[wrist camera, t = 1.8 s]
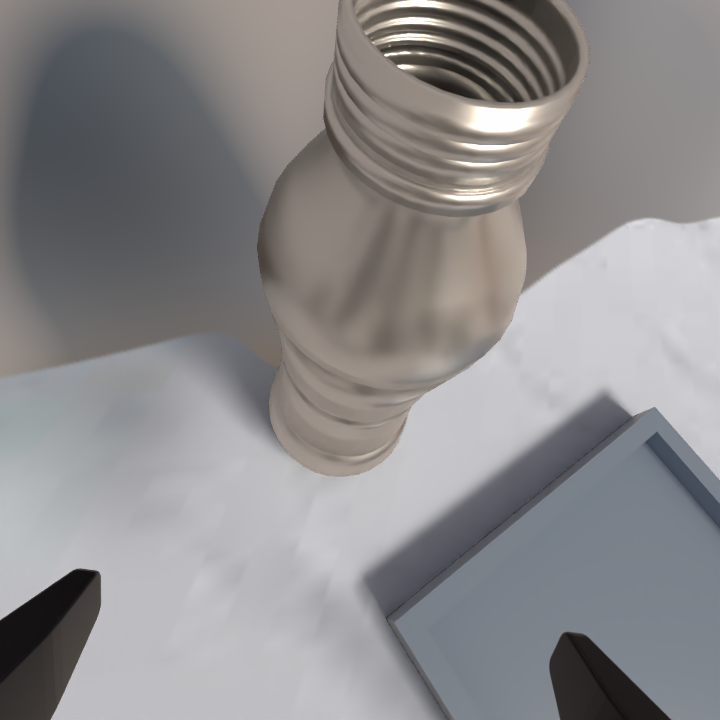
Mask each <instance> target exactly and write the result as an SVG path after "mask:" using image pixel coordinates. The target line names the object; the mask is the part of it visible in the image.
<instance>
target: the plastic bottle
mask: <svg viewBox="0 0 720 720" xmlns="http://www.w3.org/2000/svg"><path fill="white" fill-rule="evenodd" d="M589 64H590V47H589V44H588V40H587V37H586V33H585V31H584V29H583V27H582V25H581V23H580V22H579V20H578V18H577V16H576V15H575V13H574V12H573V11H572V10H571V9H570V7H569V6H568V5H567V4H566V2H565V1H564V0H339V5H338V18H337V29H336V41H335V52H334V61H333V63H332V64H331V66H330V69H329V72H328V75H327V78H326V85H325V99H324V116H323V118H324V123H325V127H326V128H325V129H324V130H323V131H322V132H320V133H319V134H318V135H317V136H316V137H315V138H314V139H313V140H312V141H310V142H309V143H308V144H307V146H305V148H303V149H302V150H301V151H300V152H299V154H298V155H297V156H296V157H295V158H294V159H293V160H292V161H291V162H290V163H289V164H288V165H287V166H286V168H285V169H284V171H283V172H282V174H281V175H280V176H279V178H278V179H277V181H276V183H275V186H274V188H273V191H272V193H271V196H270V198H269V201H268V203H267V206H266V209H265V211H264V214H263V217H262V220H261V222H260V225H259V233H258V243H257V252H258V260H259V267H260V273H261V278H262V283H263V289H264V292H265V295H266V298H267V301H268V303H269V306H270V309H271V312H272V315H273V318H274V321H275V324H276V327H277V330H278V333H279V336H280V340H281V348H282V359H281V364H280V366H279V368H278V369H277V371H276V374H275V377H274V380H273V384H272V387H271V390H270V396H269V413H270V421H271V424H272V427H273V430H274V433H275V435H276V436H277V438H278V440H279V442H280V443H281V445H282V446H283V448H284V449H285V450H286V451H287V452H288V453H289V454H290V456H291V457H292V458H294V459H295V460H296V461H297V462H299V463H300V464H301V465H303V466H304V467H306V468H308V469H310V470H312V471H314V472H316V473H320V474H323V475H327V476H343V477H344V476H351V475H358V474H360V473H363V472H366V471H369V470H371V469H373V468H374V467H376V466H377V465H379V464H380V463H382V462H383V461H384V460H385V459H386V458H387V457H388V456H389V455H390V454H391V453H392V451H393V450H394V448H395V447H396V445H397V444H398V442H399V440H400V437H401V435H402V432H403V429H404V427H405V424H406V421H407V416H408V413H409V411H410V409H411V407H412V405H414V404H415V403H416V402H417V401H418V400H419V399H420V398H421V397H422V396H423V395H424V394H425V393H427V392H429V391H431V390H432V389H434V388H436V387H437V386H439V385H441V384H442V383H444V382H446V381H447V380H450V379H451V378H453V377H455V376H456V375H458V374H460V373H461V372H463V371H465V370H466V369H468V368H469V367H470V366H472V365H473V364H474V363H475V362H476V361H478V360H479V359H480V358H482V357H483V356H484V355H485V354H486V353H487V352H488V351H489V350H490V349H491V348H492V347H493V346H494V345H495V344H496V343H497V342H498V341H499V340H500V339H501V337H502V336H503V334H504V332H505V331H506V329H507V328H508V326H509V324H510V323H511V321H512V318H513V315H514V312H515V308H516V305H517V302H518V299H519V296H520V292H521V289H522V286H523V283H524V279H525V275H526V259H527V253H526V246H525V239H524V231H523V224H522V218H521V212H520V207H519V202H518V198H519V197H520V196H522V195H523V194H524V193H525V192H526V190H527V189H528V187H529V186H530V184H531V183H532V181H533V180H534V178H535V177H536V175H537V173H538V172H539V170H540V169H541V167H542V165H543V164H544V162H545V160H546V157H547V154H548V151H549V147H550V140H551V138H552V136H553V135H554V133H555V132H556V130H557V128H558V127H559V125H560V123H561V122H562V120H563V118H564V117H565V115H566V113H567V112H568V110H569V108H570V107H571V105H572V103H573V101H574V100H575V99H576V97H577V95H578V94H579V92H580V89H581V86H582V83H583V80H584V78H585V77H586V74H587V70H588V67H589Z"/></svg>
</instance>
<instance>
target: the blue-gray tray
mask: <svg viewBox="0 0 720 720" xmlns="http://www.w3.org/2000/svg"><path fill="white" fill-rule="evenodd" d="M386 619H387V621H388V623H389V624H390V626H391V627H392V629H393V631H394V632H395V634H396V636H397V637H398V639H399V640H400V642H401V644H402V645H403V647H404V649H405V650H406V652H407V654H408V655H409V657H410V658H411V660H412V662H413V663H414V665H415V667H416V668H417V670H418V671H419V673H420V675H421V676H422V678H423V680H424V681H425V683H426V684H427V686H428V688H429V689H430V691H431V693H432V694H433V696H434V698H435V699H436V701H437V702H438V704H439V706H440V707H441V709H442V711H443V712H444V714H445V715H446V717H447V719H448V720H560V717H559V713H558V708H557V704H556V699H555V695H554V690H553V686H552V681H551V677H550V672H549V662H550V658H551V655H552V653H553V651H554V649H555V647H556V645H557V643H558V640H559V638H560V636H561V635H562V633H564V632H567V631H568V632H575V633H582V634H585V635H586V636H588V637H589V638H590V639H591V640H592V641H593V642H594V643H595V644H596V645H597V646H598V647H599V648H600V649H601V650H602V651H603V652H604V653H605V654H606V655H607V656H608V657H609V658H610V659H611V660H612V661H613V662H614V663H615V664H616V665H617V666H618V667H619V668H620V669H621V670H622V671H623V672H624V673H625V674H626V675H627V676H628V677H629V678H630V679H631V680H632V681H633V682H634V683H635V684H636V685H637V686H638V687H639V688H640V689H641V690H642V691H643V692H644V693H645V694H646V695H647V696H648V697H649V698H650V699H651V700H652V701H653V702H654V703H655V704H656V705H657V706H658V707H659V708H660V709H661V710H662V711H663V712H664V713H665V714H666V715H667V716H668V717H669V718H670V719H671V720H720V480H719V479H718V478H717V477H716V476H715V474H714V473H713V472H712V471H711V470H710V469H709V468H708V467H707V465H706V464H705V463H704V462H703V461H702V460H701V459H700V457H699V456H698V455H697V454H696V453H695V452H694V451H693V450H692V448H691V447H690V446H689V445H688V444H687V443H686V442H685V441H684V439H683V438H682V437H681V436H680V435H679V434H678V433H677V431H676V430H675V429H674V428H673V427H672V426H671V425H670V424H669V422H668V421H667V420H666V419H665V418H664V417H663V416H662V414H661V413H660V412H659V411H658V410H657V409H656V408H655V407H654V408H651V409H649V410H647V411H644V412H642V413H640V414H637V415H635V416H633V417H632V418H630V419H629V420H628V421H627V422H625V423H624V424H623V425H622V426H621V427H619V428H618V429H617V430H616V431H614V432H613V433H612V434H611V435H609V436H608V437H607V438H606V439H605V440H603V441H602V442H601V443H600V444H598V445H597V446H596V447H595V448H594V449H592V450H591V451H590V452H589V453H587V454H586V455H585V456H584V457H583V458H581V459H580V460H579V461H578V462H576V463H575V464H574V465H573V466H572V467H570V468H569V469H568V470H567V471H565V472H564V473H563V474H562V475H560V476H559V477H558V478H557V479H556V480H554V481H553V482H552V483H551V484H549V485H548V486H547V487H546V488H545V489H543V490H542V491H541V492H540V493H538V494H537V495H536V496H535V497H534V498H532V499H531V500H530V501H529V502H527V503H526V504H525V505H524V506H523V507H521V508H520V509H519V510H518V511H516V512H515V513H514V514H513V515H511V516H510V517H509V518H508V519H507V520H505V521H504V522H503V523H502V524H500V525H499V526H498V527H497V528H496V529H494V530H493V531H492V532H491V533H489V534H488V535H487V536H486V537H485V538H483V539H482V540H481V541H480V542H478V543H477V544H476V545H475V546H474V547H472V548H471V549H470V550H469V551H467V552H466V553H465V554H464V555H462V556H461V557H460V558H459V559H458V560H456V561H455V562H454V563H453V564H451V565H450V566H449V567H448V568H447V569H445V570H444V571H443V572H442V573H440V574H439V575H438V576H437V577H436V578H434V579H433V580H432V581H431V582H429V583H428V584H427V585H426V586H425V587H423V588H422V589H421V590H420V591H418V592H417V593H416V594H415V595H413V596H412V597H411V598H410V599H409V600H407V601H406V602H405V603H404V604H402V605H401V606H400V607H399V608H398V609H396V610H395V611H394V612H393V613H391V614H390V615H389V616H388V617H387V618H386Z"/></svg>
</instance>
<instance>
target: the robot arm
mask: <svg viewBox="0 0 720 720" xmlns="http://www.w3.org/2000/svg"><path fill="white" fill-rule="evenodd" d="M100 607H101V575H100V573H99V572H98V571H95V570H88V569H75V570H73V571H71V572H70V573H68V574H67V575H66V576H64V577H63V578H61V579H60V580H58V581H57V582H55V583H54V584H52V585H51V586H49V587H48V588H47V589H45V590H44V591H42V592H41V593H39V594H38V595H36V596H35V597H33V598H32V599H31V600H29V601H28V602H26V603H25V604H23V605H22V606H20V607H19V608H17V609H16V610H14V611H13V612H12V613H10V614H9V615H7V616H6V617H4V618H3V619H1V620H0V720H50V719H51V718H52V716H53V714H54V712H55V710H56V708H57V706H58V704H59V702H60V700H61V697H62V695H63V693H64V691H65V689H66V687H67V684H68V682H69V680H70V678H71V675H72V673H73V671H74V669H75V666H76V664H77V662H78V660H79V657H80V655H81V653H82V651H83V648H84V646H85V644H86V642H87V640H88V637H89V635H90V633H91V631H92V628H93V626H94V624H95V622H96V619H97V617H98V614H99V611H100ZM549 672H550V677H551V681H552V686H553V690H554V695H555V699H556V704H557V708H558V713H559V717H560V720H671V719H670V718H669V717H668V716H667V715H666V714H665V713H664V712H663V711H662V710H661V709H660V708H659V707H658V706H657V705H656V704H655V703H654V702H653V701H652V700H651V699H650V698H649V697H648V696H647V695H646V694H645V693H644V692H643V691H642V690H641V689H640V688H639V687H638V686H637V685H636V684H635V683H634V682H633V681H632V680H631V679H630V678H629V677H628V676H627V675H626V674H625V673H624V672H623V671H622V670H621V669H620V668H619V667H618V666H617V665H616V664H615V663H614V662H613V661H612V660H611V659H610V658H609V657H608V656H607V655H606V654H605V653H604V652H603V651H602V650H601V649H600V648H599V647H598V646H597V645H596V644H595V643H594V642H593V641H592V640H591V639H590V638H589V637H588V636H586V635H585V634H582V633H575V632H568V631H567V632H564V633H562V635H561V636H560V638H559V640H558V643H557V645H556V647H555V649H554V651H553V653H552V655H551V658H550V662H549Z"/></svg>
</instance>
